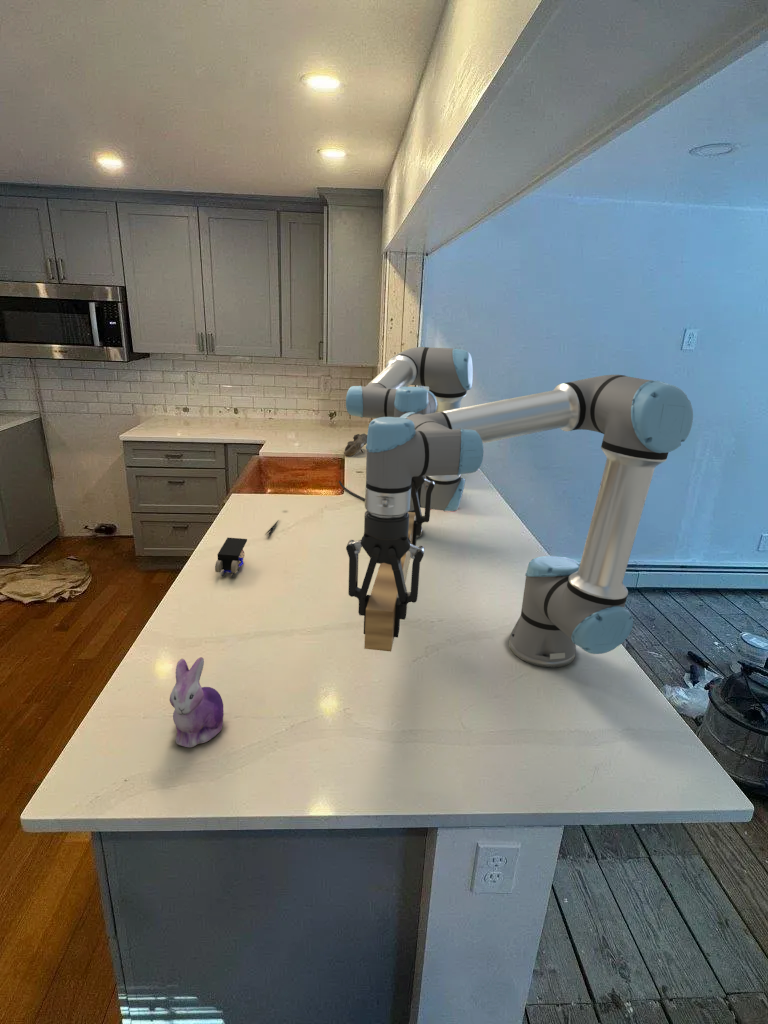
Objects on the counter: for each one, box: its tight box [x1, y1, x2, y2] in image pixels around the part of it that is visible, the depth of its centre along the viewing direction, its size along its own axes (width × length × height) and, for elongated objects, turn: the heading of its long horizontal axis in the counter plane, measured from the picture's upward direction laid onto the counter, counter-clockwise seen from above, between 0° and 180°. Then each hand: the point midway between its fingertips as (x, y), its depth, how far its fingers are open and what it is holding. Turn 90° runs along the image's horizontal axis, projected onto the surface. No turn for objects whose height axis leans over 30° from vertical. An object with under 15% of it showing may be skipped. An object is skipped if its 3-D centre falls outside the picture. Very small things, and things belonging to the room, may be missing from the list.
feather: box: [265, 520, 279, 539], centre depth 203 cm, size 2×28×2 cm
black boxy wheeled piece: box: [214, 537, 248, 578], centre depth 166 cm, size 7×8×15 cm
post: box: [364, 512, 416, 653], centre depth 121 cm, size 51×5×8 cm, turn 173°
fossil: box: [343, 432, 367, 457], centre depth 306 cm, size 22×10×15 cm
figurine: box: [169, 657, 225, 748], centre depth 102 cm, size 9×10×15 cm
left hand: (403, 545), depth 141 cm, fingers closed on post, 5 cm apart
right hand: (381, 631), depth 103 cm, fingers closed on post, 5 cm apart
